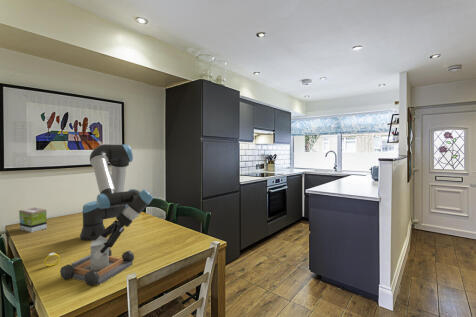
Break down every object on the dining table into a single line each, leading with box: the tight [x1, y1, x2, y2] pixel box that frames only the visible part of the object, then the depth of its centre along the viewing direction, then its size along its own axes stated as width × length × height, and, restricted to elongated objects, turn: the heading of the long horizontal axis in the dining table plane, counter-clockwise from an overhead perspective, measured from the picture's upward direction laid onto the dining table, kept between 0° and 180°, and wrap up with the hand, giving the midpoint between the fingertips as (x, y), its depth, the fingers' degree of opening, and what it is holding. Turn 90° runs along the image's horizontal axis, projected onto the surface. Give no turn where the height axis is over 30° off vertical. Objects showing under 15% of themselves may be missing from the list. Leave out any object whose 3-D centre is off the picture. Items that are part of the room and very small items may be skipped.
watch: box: [44, 252, 61, 268], centre depth 117 cm, size 6×3×6 cm, turn 133°
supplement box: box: [90, 238, 109, 271], centre depth 111 cm, size 7×7×13 cm
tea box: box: [18, 207, 48, 233], centre depth 170 cm, size 15×10×15 cm
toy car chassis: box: [59, 248, 135, 287], centre depth 112 cm, size 22×22×6 cm
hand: (93, 252), depth 110 cm, fingers open, 13 cm apart
